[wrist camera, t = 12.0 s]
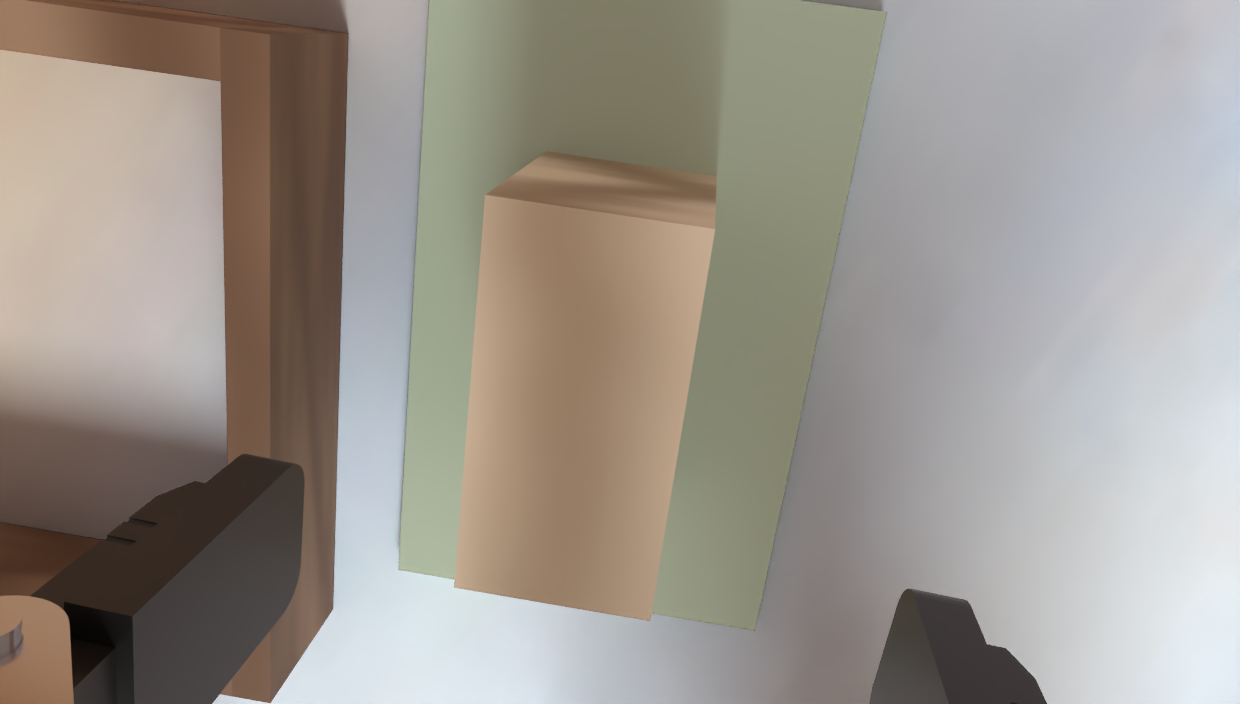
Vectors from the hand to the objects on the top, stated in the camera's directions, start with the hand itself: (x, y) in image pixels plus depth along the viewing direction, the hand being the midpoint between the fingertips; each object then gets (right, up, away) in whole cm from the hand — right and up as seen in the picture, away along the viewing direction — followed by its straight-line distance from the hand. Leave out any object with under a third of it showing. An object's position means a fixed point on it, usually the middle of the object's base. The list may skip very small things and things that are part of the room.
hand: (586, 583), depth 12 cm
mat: (0, +4, +11) cm, 12 cm away
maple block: (0, +4, +11) cm, 11 cm away
